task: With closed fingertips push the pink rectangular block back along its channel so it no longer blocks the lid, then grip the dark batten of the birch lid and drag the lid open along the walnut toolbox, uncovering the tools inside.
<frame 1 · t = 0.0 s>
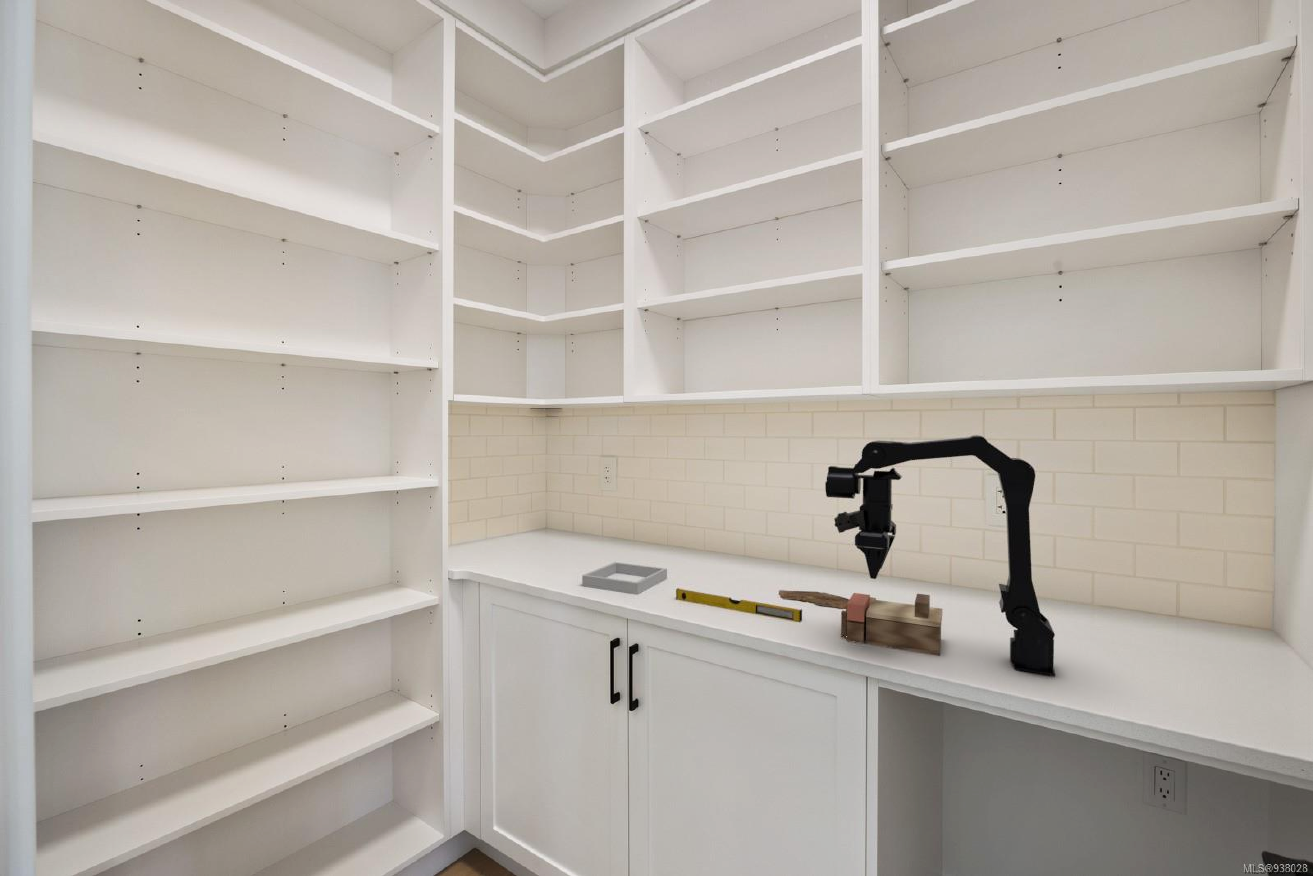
hand: (876, 573, 125), 15 cm above the worktop, fingers open, 9 cm apart
pink rectangular block: (858, 607, 130), point 6 cm above the worktop, slide at 0.0 cm
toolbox: (903, 641, 126), on the worktop
wooden fragment: (824, 602, 155), on the worktop
spirit level: (735, 611, 147), on the worktop
lid: (904, 605, 126), point 8 cm above the worktop, slide at 0.0 cm
parts corral: (625, 582, 172), on the worktop
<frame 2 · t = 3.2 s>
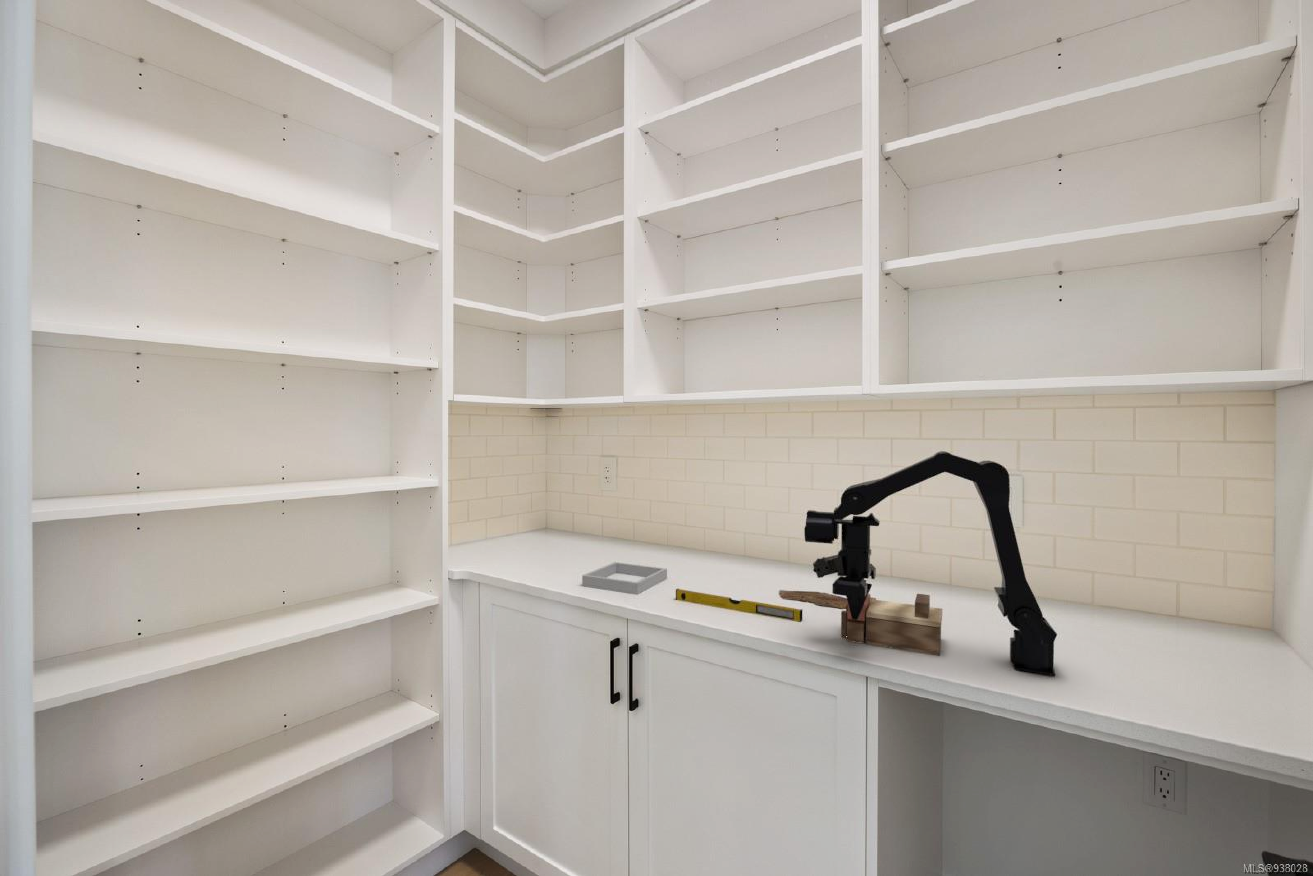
hand: (854, 619, 125), 5 cm above the worktop, fingers closed
pink rectangular block: (859, 606, 130), point 6 cm above the worktop, slide at 0.8 cm, touching gripper
everything else where it was.
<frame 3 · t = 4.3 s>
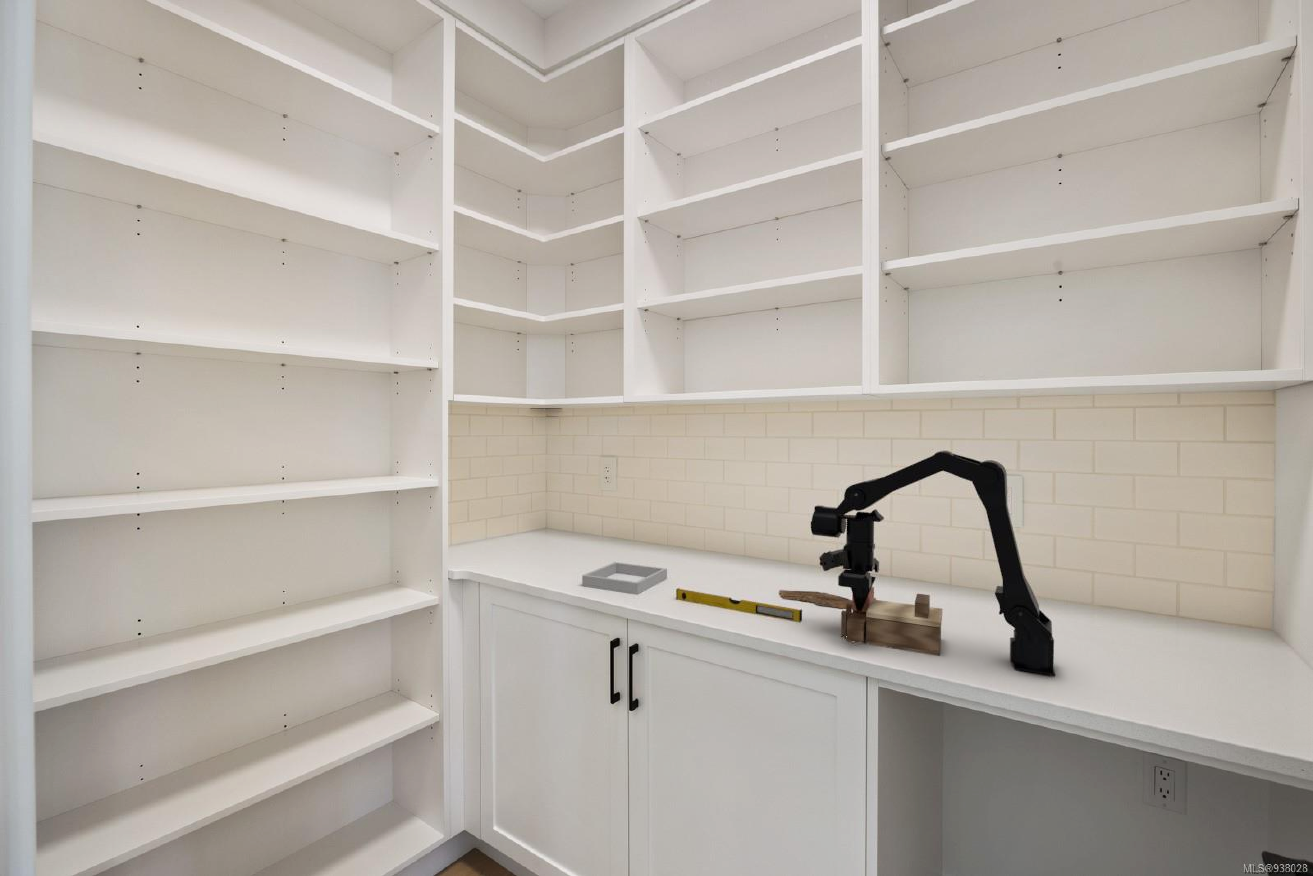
hand: (859, 610, 130), 5 cm above the worktop, fingers closed
pink rectangular block: (863, 598, 136), point 6 cm above the worktop, slide at 7.2 cm, touching gripper
everything else where it was.
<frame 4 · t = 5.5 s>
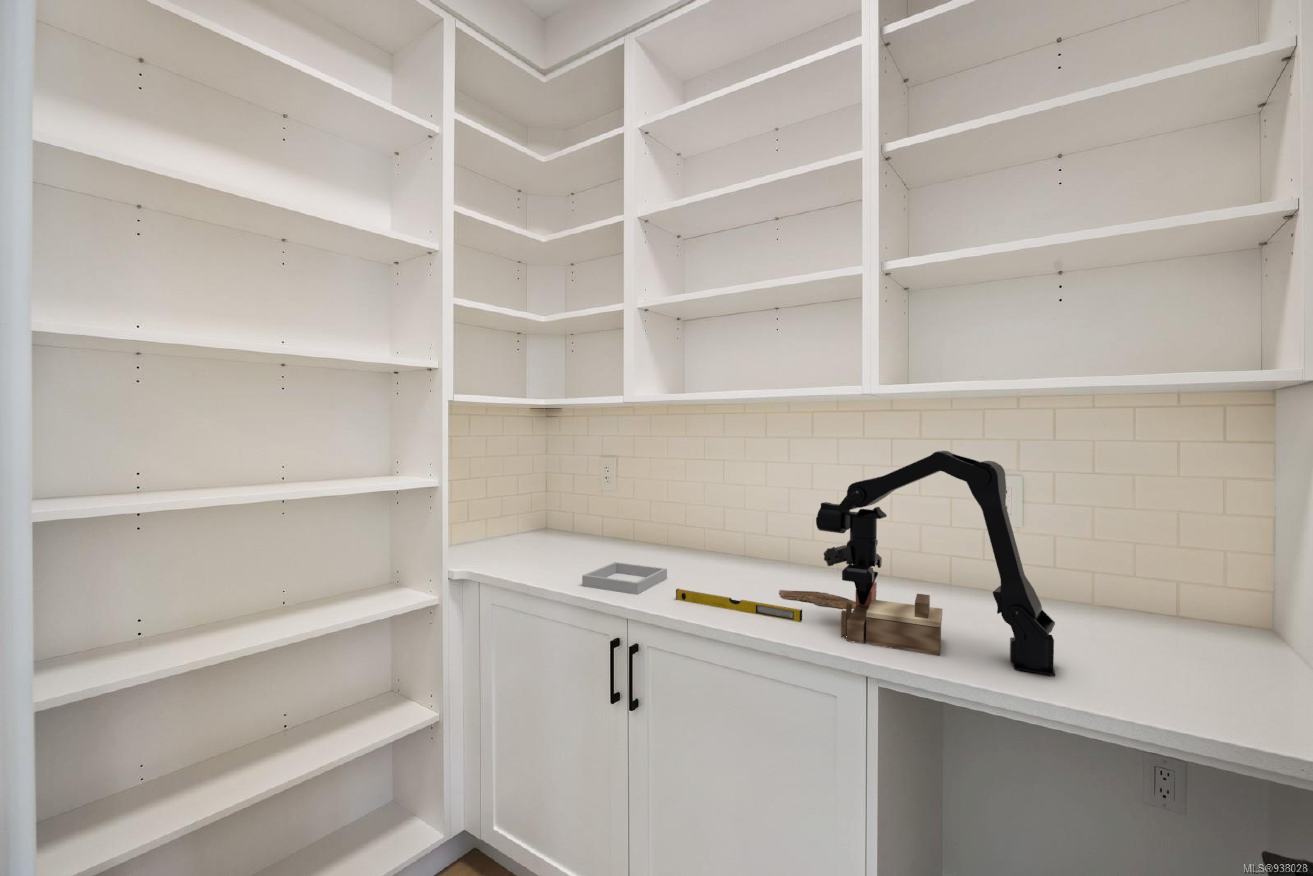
hand: (862, 604, 135), 5 cm above the worktop, fingers closed
pink rectangular block: (866, 593, 140), point 6 cm above the worktop, slide at 11.9 cm, touching gripper
everything else where it was.
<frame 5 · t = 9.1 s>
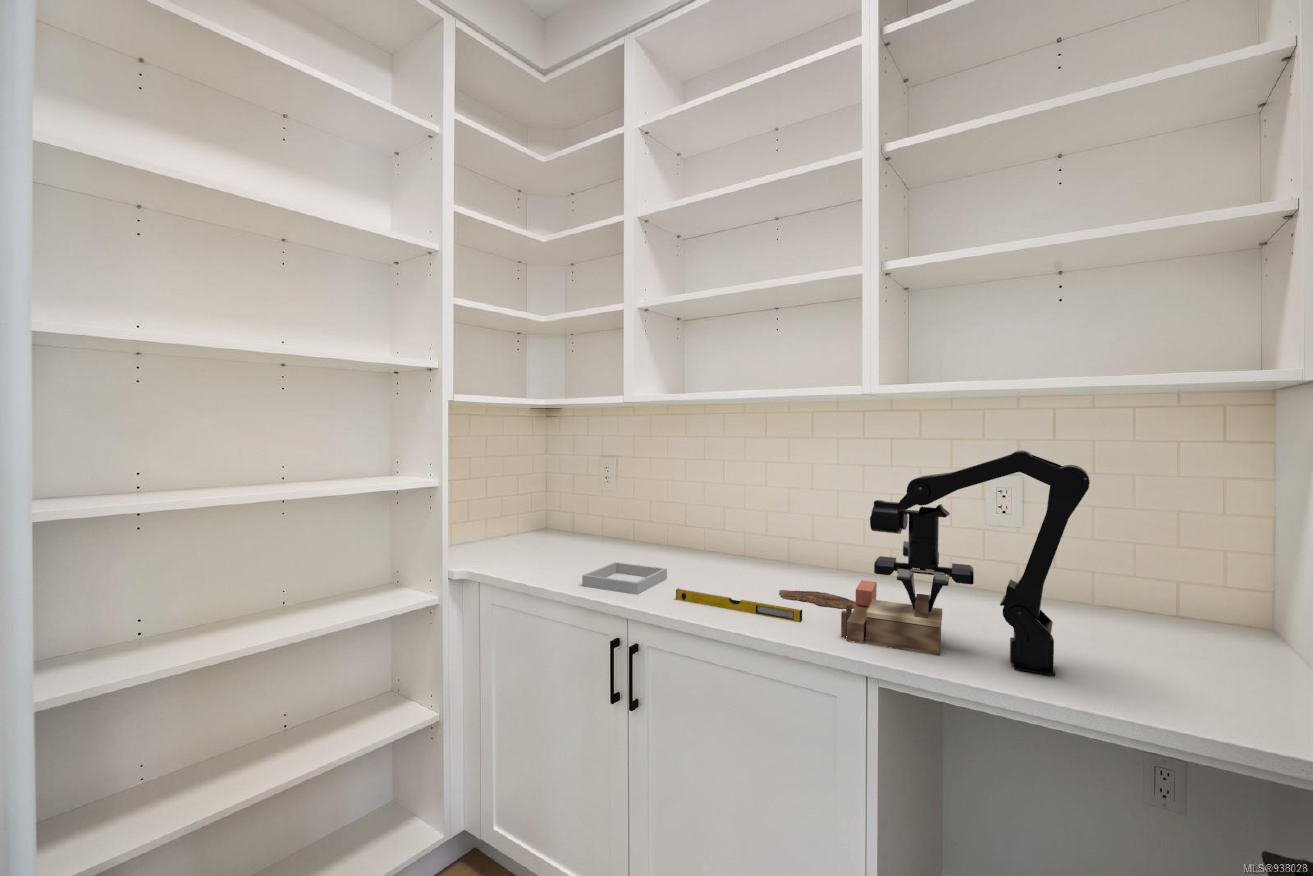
hand: (922, 610, 124), 7 cm above the worktop, fingers closed on lid, 2 cm apart
pink rectangular block: (866, 593, 140), point 6 cm above the worktop, slide at 12.0 cm
lid: (904, 605, 126), point 8 cm above the worktop, slide at 0.0 cm, touching gripper
everything else where it was.
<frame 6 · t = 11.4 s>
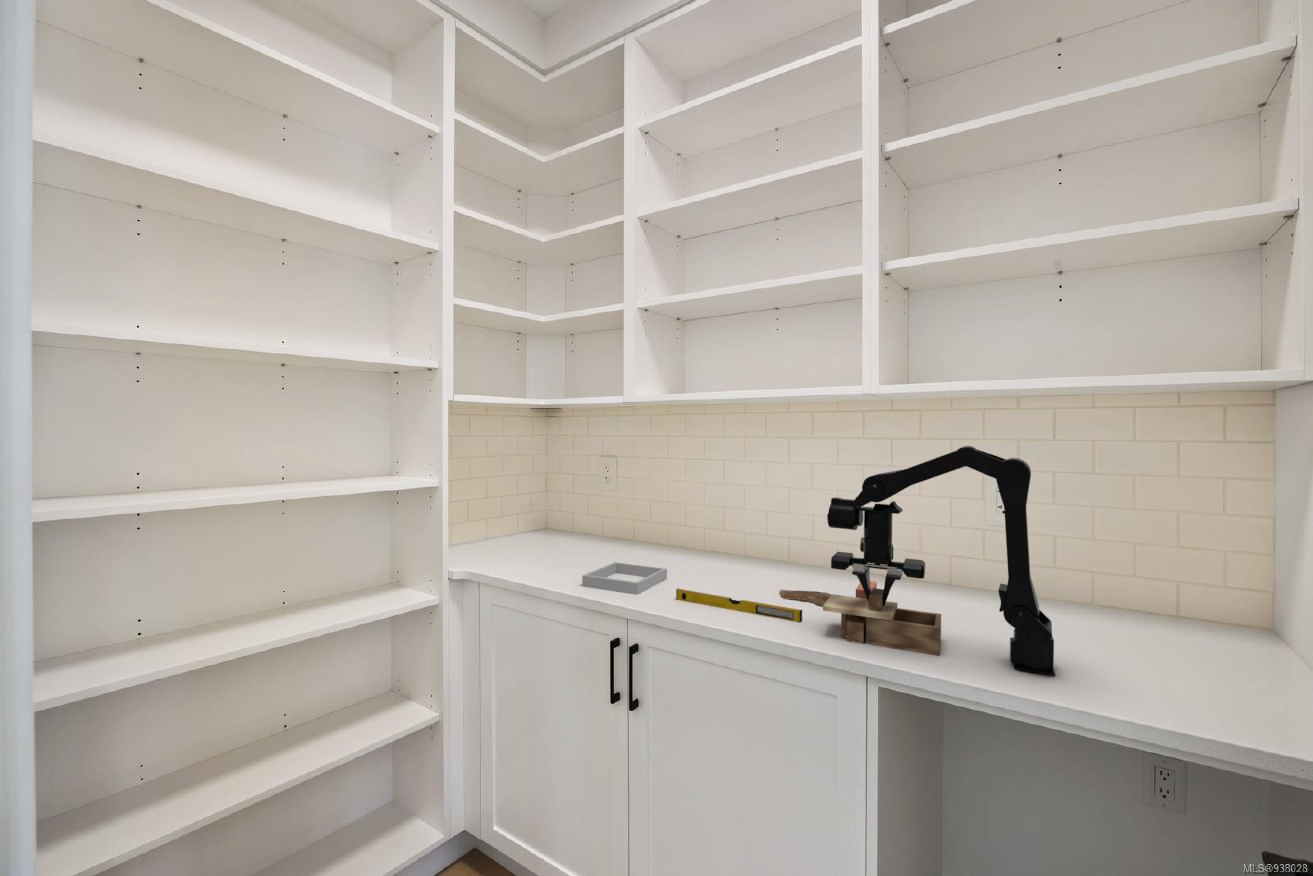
hand: (876, 603, 128), 7 cm above the worktop, fingers closed on lid, 2 cm apart
lid: (860, 599, 130), point 8 cm above the worktop, slide at 9.0 cm, touching gripper
everything else where it was.
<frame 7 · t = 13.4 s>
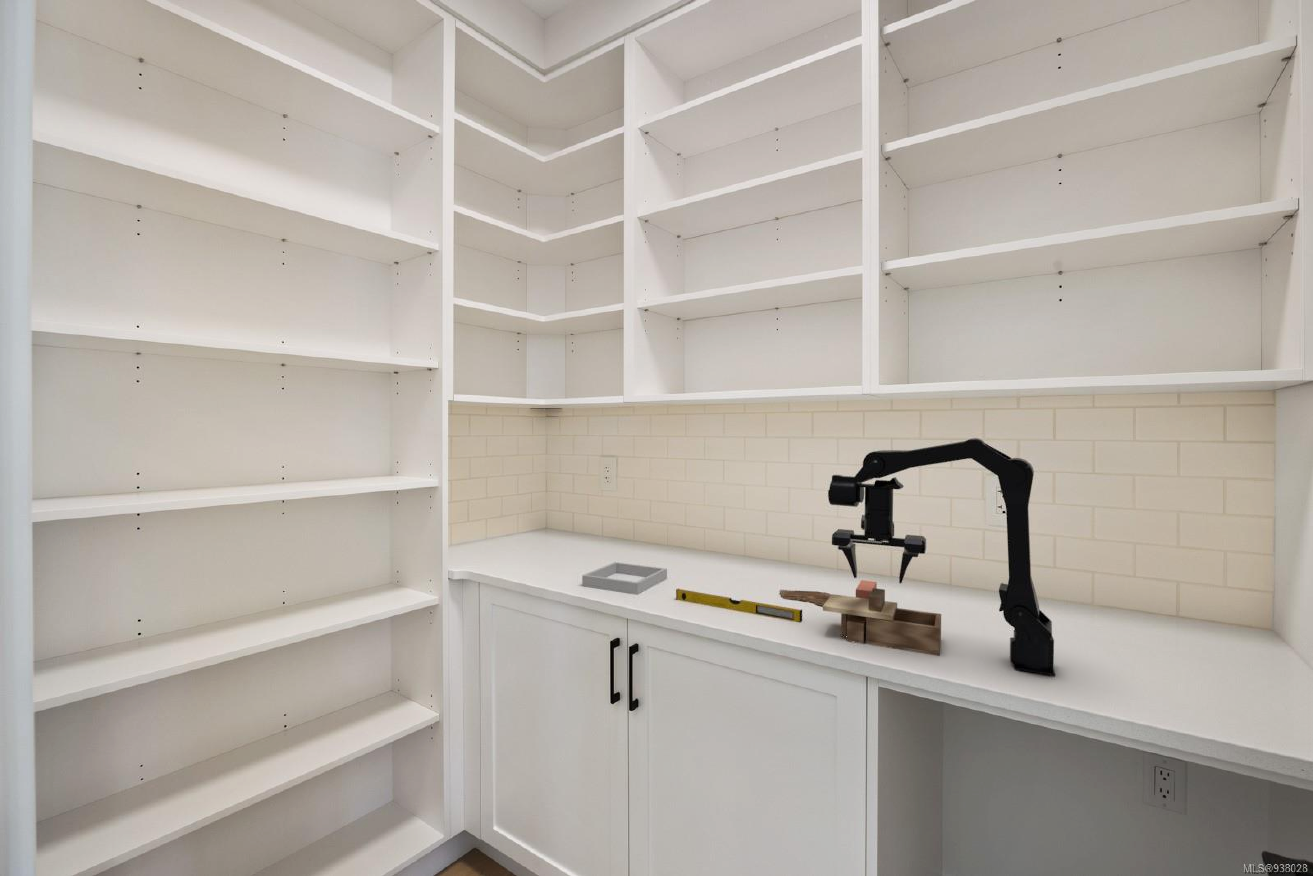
hand: (877, 580, 128), 12 cm above the worktop, fingers open, 9 cm apart
lid: (860, 599, 130), point 8 cm above the worktop, slide at 9.0 cm
everything else where it was.
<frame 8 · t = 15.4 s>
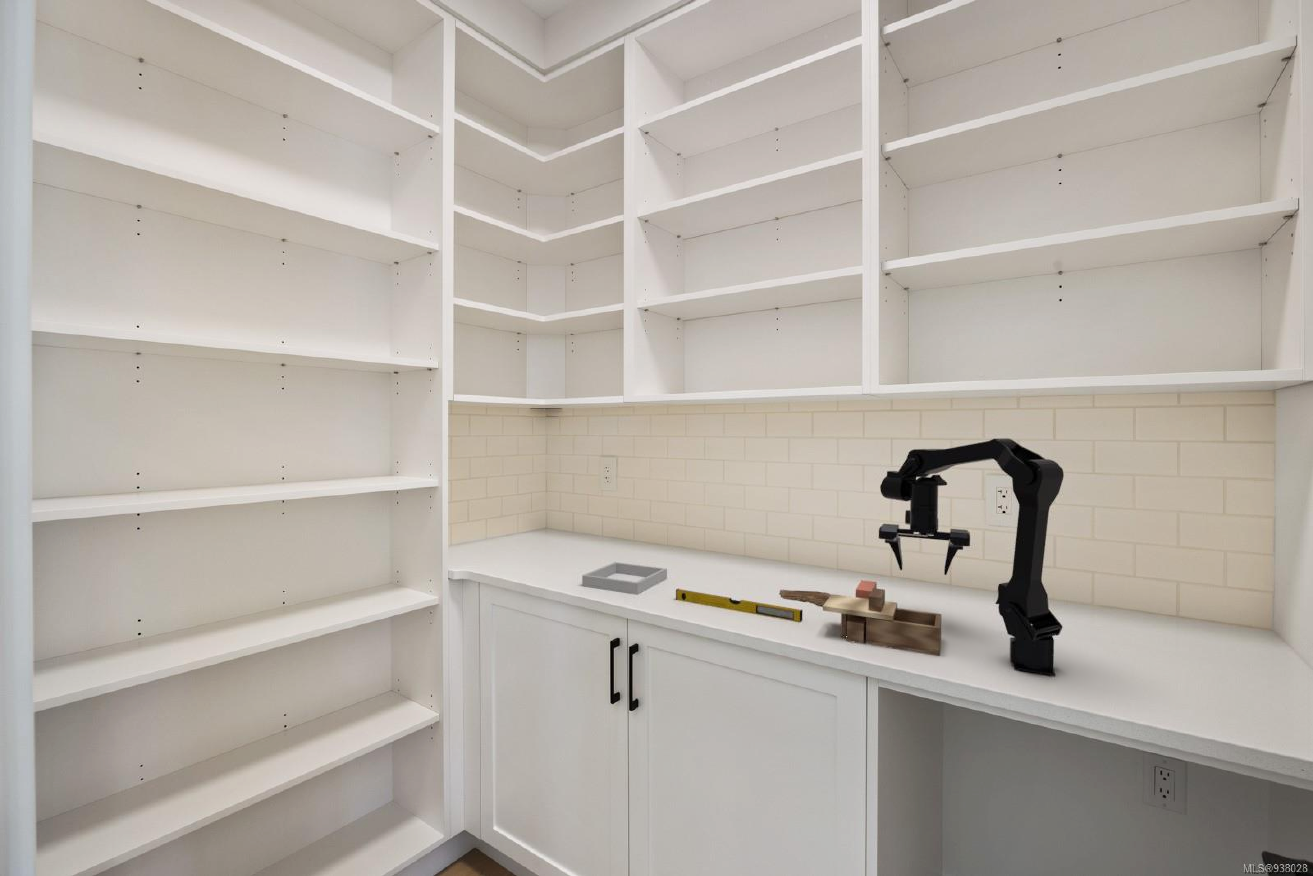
hand: (923, 572, 135), 13 cm above the worktop, fingers open, 9 cm apart
nothing on the worktop moved.
at the end: pink rectangular block slide at 12.0 cm; lid slide at 9.0 cm; the gripper is holding nothing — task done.
